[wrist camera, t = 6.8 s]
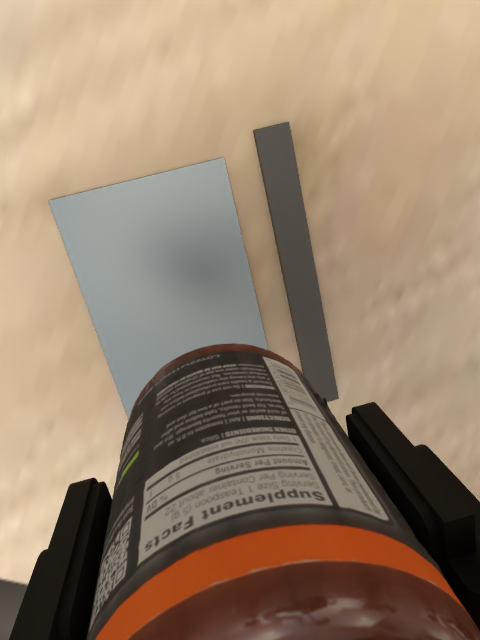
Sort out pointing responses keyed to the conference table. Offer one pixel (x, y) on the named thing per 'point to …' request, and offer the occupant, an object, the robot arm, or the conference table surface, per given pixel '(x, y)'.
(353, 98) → the conference table surface
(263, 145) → the bar
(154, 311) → the pad
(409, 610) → the supplement bottle
